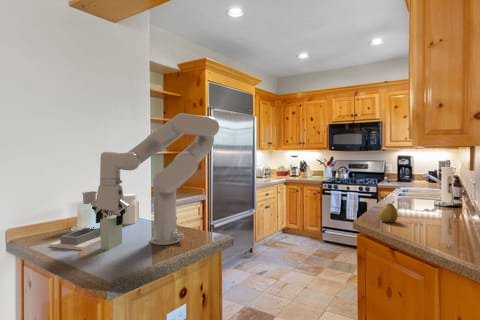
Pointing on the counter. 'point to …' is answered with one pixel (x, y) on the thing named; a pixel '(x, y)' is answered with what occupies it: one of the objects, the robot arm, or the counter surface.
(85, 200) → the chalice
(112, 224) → the pale green upright block
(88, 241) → the grey tray
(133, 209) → the jar
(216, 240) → the counter surface
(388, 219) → the fruit
